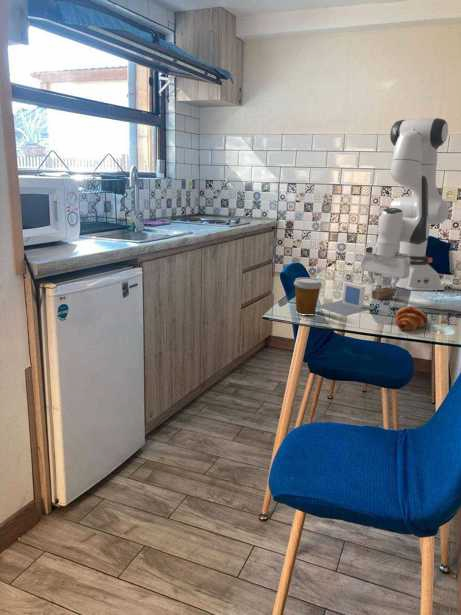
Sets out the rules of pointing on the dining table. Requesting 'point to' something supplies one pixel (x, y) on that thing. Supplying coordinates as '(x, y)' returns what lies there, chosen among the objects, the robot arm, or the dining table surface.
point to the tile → (353, 295)
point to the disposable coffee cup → (306, 294)
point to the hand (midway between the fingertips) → (382, 285)
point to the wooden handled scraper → (382, 293)
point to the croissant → (410, 318)
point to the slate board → (343, 308)
